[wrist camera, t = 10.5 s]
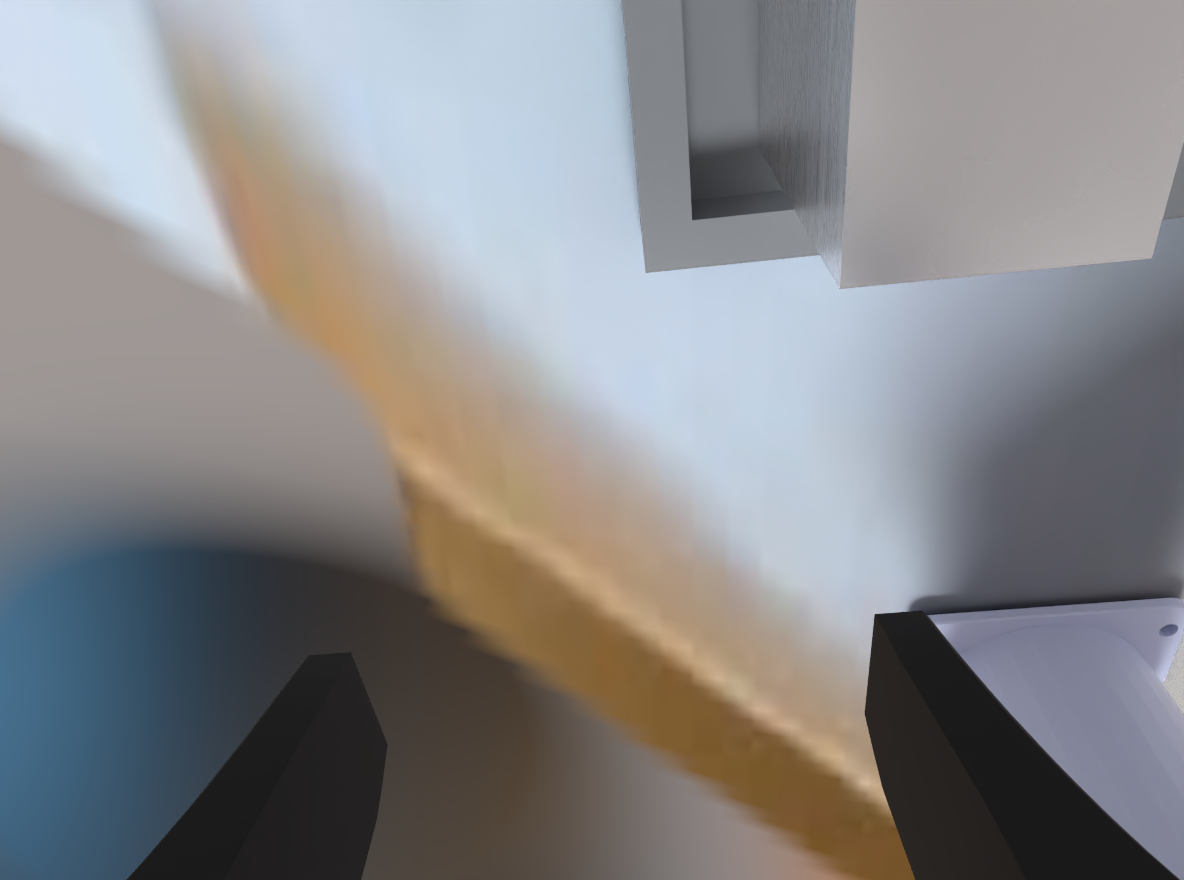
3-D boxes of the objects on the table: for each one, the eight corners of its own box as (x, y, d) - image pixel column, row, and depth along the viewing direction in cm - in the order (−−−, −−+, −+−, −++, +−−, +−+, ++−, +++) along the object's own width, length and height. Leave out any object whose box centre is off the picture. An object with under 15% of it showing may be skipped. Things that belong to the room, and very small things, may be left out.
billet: (960, 126, 17) (1152, 258, 11) (758, 148, 17) (840, 289, 11) (1000, -184, 14) (1285, -229, 8) (758, -152, 14) (865, -173, 8)
